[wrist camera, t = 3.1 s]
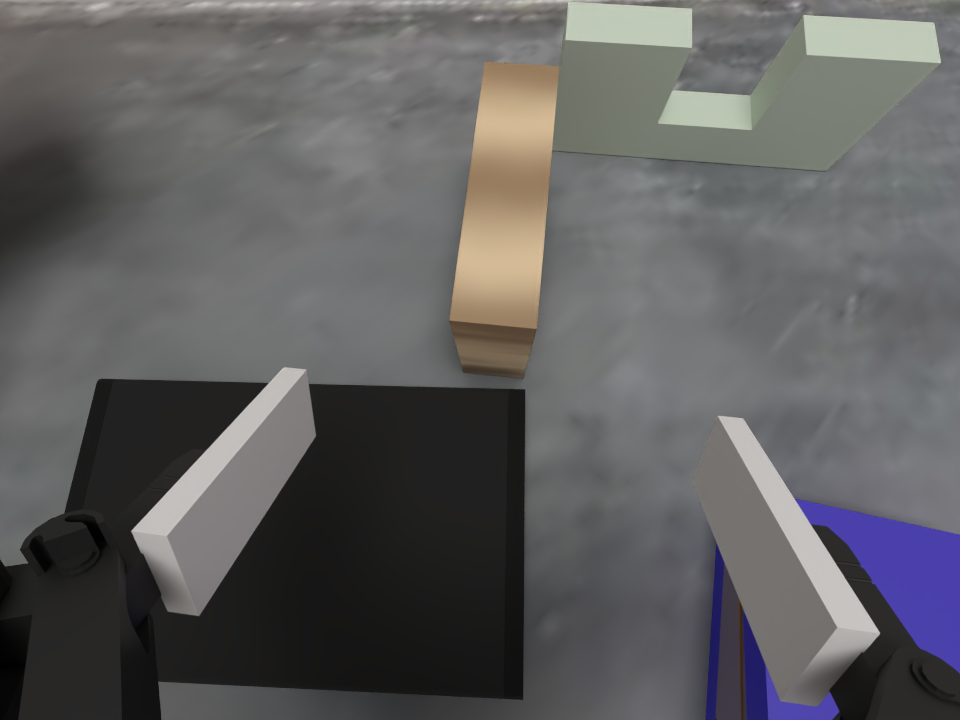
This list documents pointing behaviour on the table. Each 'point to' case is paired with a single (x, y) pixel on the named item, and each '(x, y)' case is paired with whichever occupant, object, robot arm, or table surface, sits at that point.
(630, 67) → the green u-shaped block
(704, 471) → the robot arm
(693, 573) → the table surface
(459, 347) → the tan wooden block
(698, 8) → the table surface
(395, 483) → the external hard drive
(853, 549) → the blue foot pedal
